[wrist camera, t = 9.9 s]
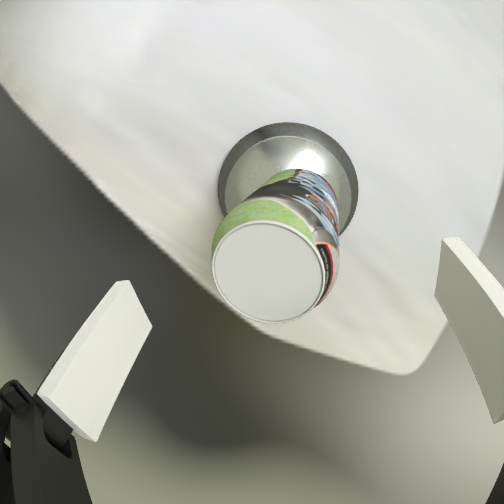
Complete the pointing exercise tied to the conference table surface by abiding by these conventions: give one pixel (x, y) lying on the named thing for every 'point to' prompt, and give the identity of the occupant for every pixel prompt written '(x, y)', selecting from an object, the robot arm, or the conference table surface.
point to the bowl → (287, 165)
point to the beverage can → (279, 248)
